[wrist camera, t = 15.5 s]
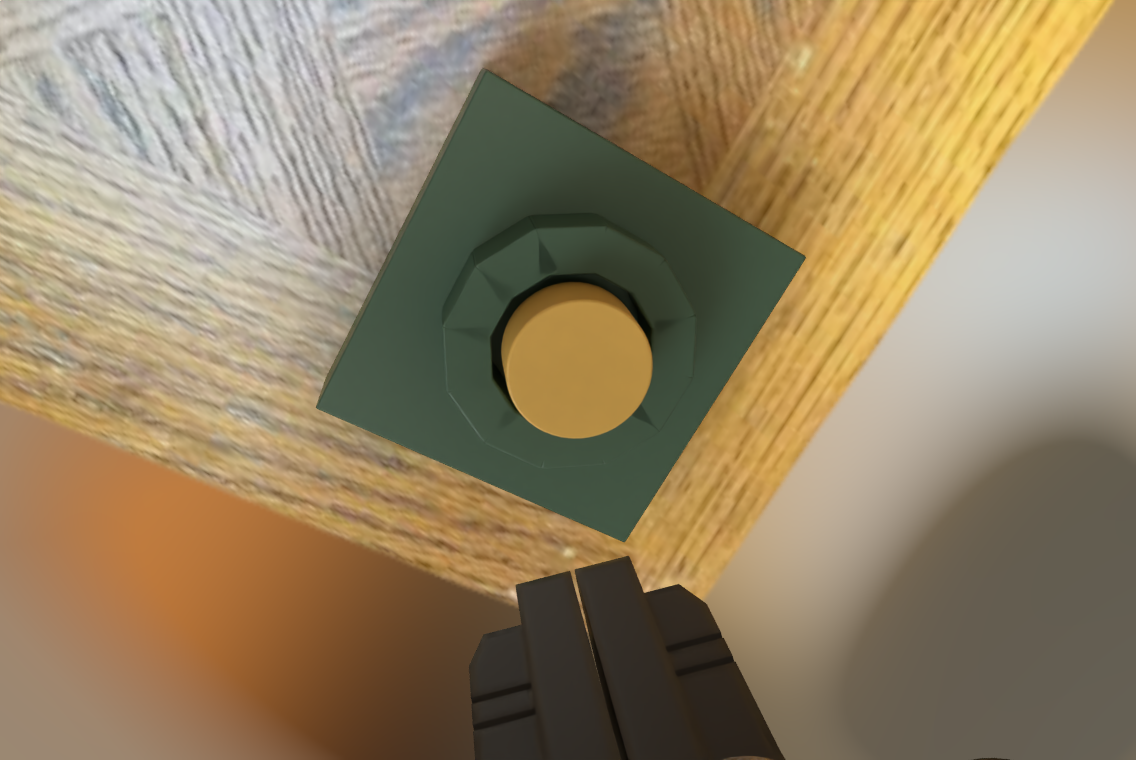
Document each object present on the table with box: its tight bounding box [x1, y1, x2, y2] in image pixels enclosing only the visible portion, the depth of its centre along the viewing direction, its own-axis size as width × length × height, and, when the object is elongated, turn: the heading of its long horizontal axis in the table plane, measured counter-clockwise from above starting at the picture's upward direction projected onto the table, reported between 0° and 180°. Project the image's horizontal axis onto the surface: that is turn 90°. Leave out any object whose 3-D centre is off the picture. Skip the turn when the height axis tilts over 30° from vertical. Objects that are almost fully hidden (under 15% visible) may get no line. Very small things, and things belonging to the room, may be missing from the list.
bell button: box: [501, 282, 653, 438], centre depth 22 cm, size 4×4×2 cm
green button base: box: [316, 68, 806, 542], centre depth 24 cm, size 10×10×4 cm
